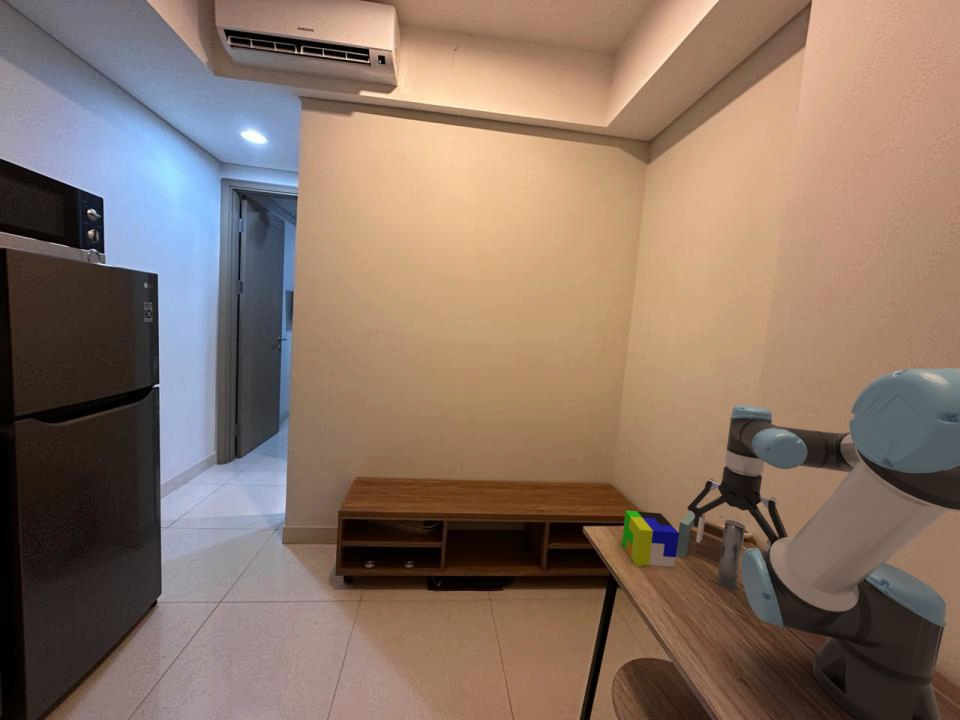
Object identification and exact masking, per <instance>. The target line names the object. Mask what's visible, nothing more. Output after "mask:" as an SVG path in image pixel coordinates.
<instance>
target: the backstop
mask: <svg viewBox="0 0 960 720" xmlns="http://www.w3.org/2000/svg"><path fill="white" fill-rule="evenodd" d="M696 507H697V508H701V507H702V506H701V505H699V504H698V505H697V506H696ZM694 519H695V514H694V513H693V512H692V511H688V513H687V514H686V515H685V516H684V518H682V519H681V520H680V521H679V527H678V532H679V537H678V545H677V552H676V557H680V558H682V559H684V558H685V557H686V556H687V554H688V547H689V539H690V531H691V528H692V527H693V526H694Z"/></svg>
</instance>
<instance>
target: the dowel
mask: <svg viewBox="0 0 960 720" xmlns="http://www.w3.org/2000/svg"><path fill="white" fill-rule="evenodd" d="M723 528H724V534H723V542H722V549H721V556H720V563H719V567H718V572H717V579H716V582H717V583H718V585H719V586H721V587H722V588H724V589H727V590H730V591H735V590H737V587H738V580H739V574H740V573H739V572H740V567H741V562H742V555H743V547H744V546H743V545H744V538H745V532H746V526H745V525H744V524H743V523H741V522H738V521H737V520H730V519H726V520H725V521H724V527H723Z"/></svg>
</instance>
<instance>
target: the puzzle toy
mask: <svg viewBox="0 0 960 720" xmlns="http://www.w3.org/2000/svg"><path fill="white" fill-rule="evenodd" d="M678 537H679V530H677V529H676V528H675V527H674V526H673V524H671V523H670V522H669V521H668V520H667V519H666V517H665V516H664V515H663V514H662V513H661V512H660V513H659V512H647V511H635V510H625V512H624V522H623V531H622V539H621V540H622V541H621V544H622V546H623V548H624V547H625V548H624V549H625V551H626V550H627V551H626V552H627V554H628V555H630V556H629V557H630V559H631V558H632V559H631V560H633V561H632V562H633V564H634V563H635V564H634V565H635V567H642V566H647V565H648V566H657V567H659V566H660V567H671V568H675V567H676V559H677V555H676V552H677V545H678Z"/></svg>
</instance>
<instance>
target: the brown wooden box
mask: <svg viewBox="0 0 960 720" xmlns="http://www.w3.org/2000/svg"><path fill="white" fill-rule="evenodd" d="M697 531H698V528H697V527H694V526H693V527H692V528H691V531H690V539H689V547H688V553H687V554H688V555H691V556H694V557H696V558H698V559H699V560H703V561H705V562H707V563H709V564H711V565H713V566H716V567H718V568H719V563H720V556H721V549H722V542H723V534H724V527H723V526H720V525H718V524H715V523H713V522H709V521H707V520H705V523H704V530H703V537H702V540H701V541H700V543H698V542H696V538H697Z"/></svg>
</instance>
